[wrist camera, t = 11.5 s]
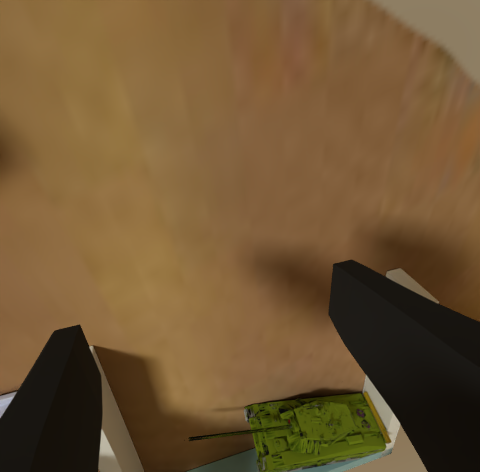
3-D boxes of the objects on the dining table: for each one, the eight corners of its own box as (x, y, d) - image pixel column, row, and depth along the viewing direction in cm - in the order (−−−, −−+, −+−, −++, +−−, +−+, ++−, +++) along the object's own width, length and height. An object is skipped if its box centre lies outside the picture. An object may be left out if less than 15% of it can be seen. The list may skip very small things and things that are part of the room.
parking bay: (139, 494, 33) (141, 547, 30) (72, 350, 22) (65, 407, 19) (367, 416, 38) (390, 453, 35) (400, 267, 27) (439, 301, 24)
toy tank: (373, 476, 33) (442, 432, 27) (169, 518, 26) (199, 471, 20) (341, 400, 38) (392, 348, 32) (163, 419, 31) (185, 358, 25)
